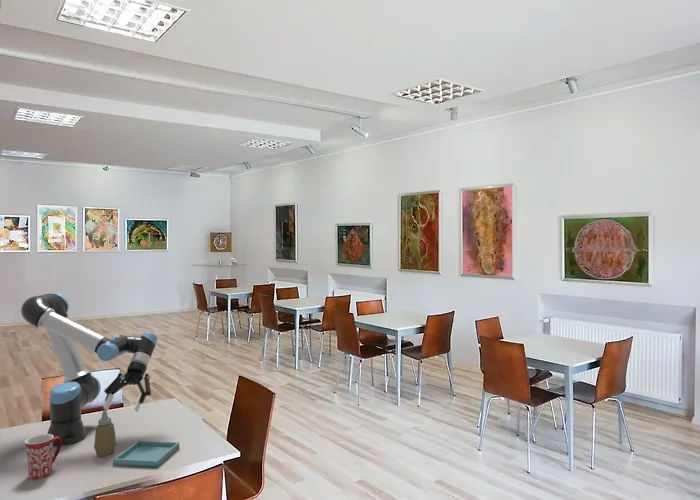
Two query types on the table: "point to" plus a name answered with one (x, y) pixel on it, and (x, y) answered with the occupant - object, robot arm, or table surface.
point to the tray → (146, 454)
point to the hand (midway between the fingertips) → (120, 410)
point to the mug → (41, 455)
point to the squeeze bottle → (105, 436)
